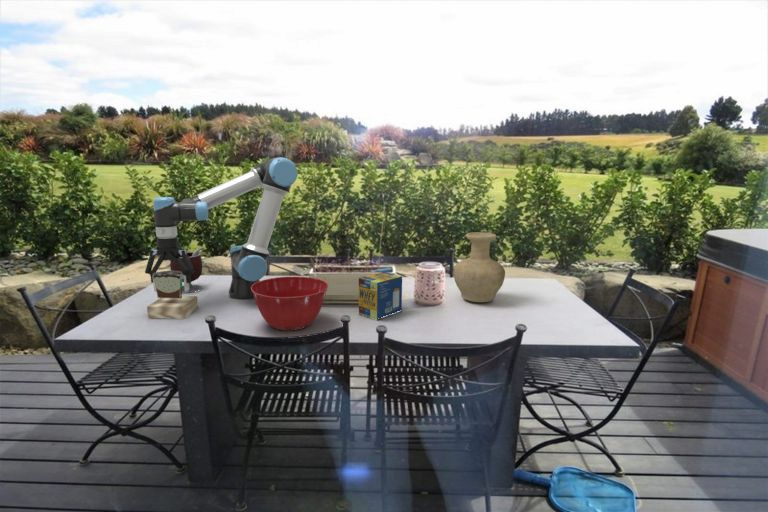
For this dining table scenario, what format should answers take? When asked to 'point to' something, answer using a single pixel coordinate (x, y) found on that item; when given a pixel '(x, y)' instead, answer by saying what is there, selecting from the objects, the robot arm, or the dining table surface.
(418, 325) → the dining table surface
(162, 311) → the birch platform
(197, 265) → the mate gourd
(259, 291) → the mixing bowl
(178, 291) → the food container
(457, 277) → the vase
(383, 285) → the protein box
